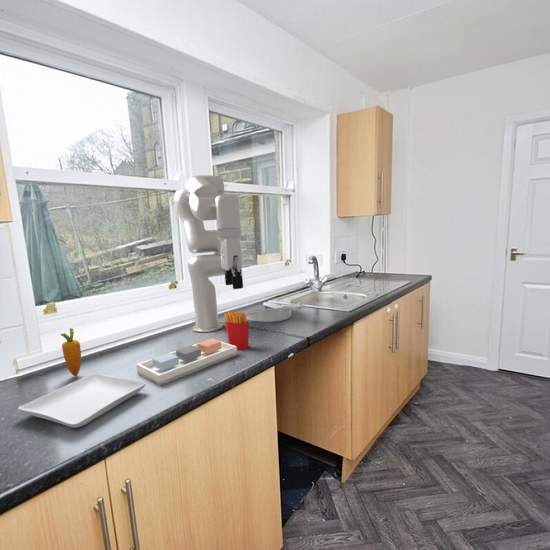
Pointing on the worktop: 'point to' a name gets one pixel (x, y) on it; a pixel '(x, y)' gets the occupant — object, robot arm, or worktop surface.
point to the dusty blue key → (165, 361)
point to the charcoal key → (188, 353)
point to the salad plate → (83, 399)
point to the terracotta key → (209, 346)
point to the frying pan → (274, 312)
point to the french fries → (237, 329)
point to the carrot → (72, 353)
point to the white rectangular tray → (185, 365)
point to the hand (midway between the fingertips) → (234, 286)
